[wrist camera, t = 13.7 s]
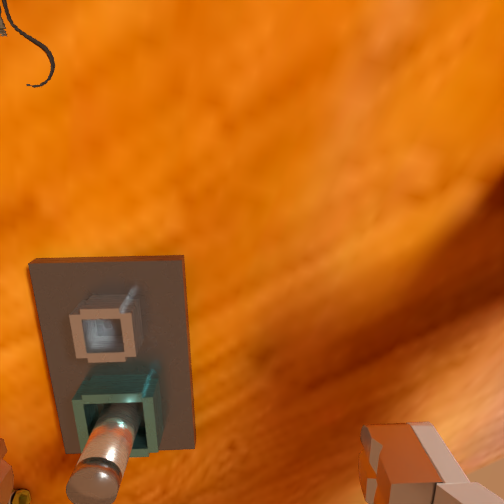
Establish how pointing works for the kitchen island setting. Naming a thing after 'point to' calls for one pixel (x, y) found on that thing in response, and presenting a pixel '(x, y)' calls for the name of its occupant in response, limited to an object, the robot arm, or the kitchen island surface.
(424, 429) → the robot arm
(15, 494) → the sprinkler
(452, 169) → the kitchen island surface
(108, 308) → the manifold plate
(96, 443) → the fitting
